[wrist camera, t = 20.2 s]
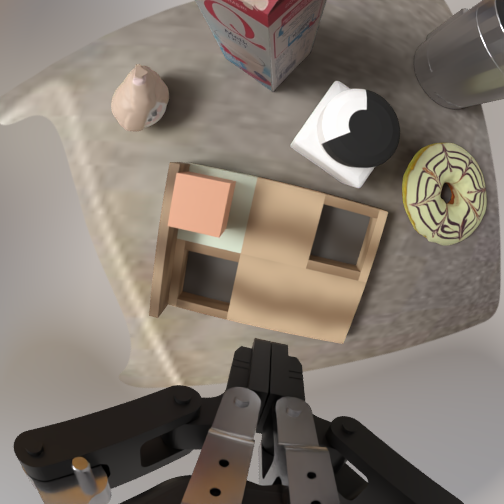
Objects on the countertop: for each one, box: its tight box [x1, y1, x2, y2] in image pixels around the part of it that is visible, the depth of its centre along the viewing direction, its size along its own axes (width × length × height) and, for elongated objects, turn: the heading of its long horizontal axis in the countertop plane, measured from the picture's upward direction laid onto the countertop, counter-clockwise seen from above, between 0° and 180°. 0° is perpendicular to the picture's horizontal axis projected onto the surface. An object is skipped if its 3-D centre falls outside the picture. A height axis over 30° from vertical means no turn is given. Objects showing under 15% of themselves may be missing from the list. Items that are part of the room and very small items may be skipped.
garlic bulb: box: [111, 64, 169, 131], centre depth 28 cm, size 7×6×8 cm
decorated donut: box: [402, 143, 487, 245], centre depth 30 cm, size 11×12×4 cm
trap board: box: [149, 162, 388, 344], centre depth 32 cm, size 16×22×6 cm
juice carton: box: [195, 0, 326, 92], centre depth 18 cm, size 7×7×22 cm
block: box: [168, 172, 236, 238], centre depth 29 cm, size 5×5×4 cm
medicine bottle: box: [291, 81, 400, 188], centre depth 25 cm, size 7×7×12 cm
